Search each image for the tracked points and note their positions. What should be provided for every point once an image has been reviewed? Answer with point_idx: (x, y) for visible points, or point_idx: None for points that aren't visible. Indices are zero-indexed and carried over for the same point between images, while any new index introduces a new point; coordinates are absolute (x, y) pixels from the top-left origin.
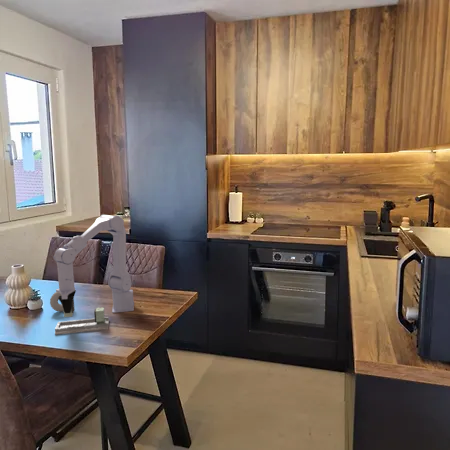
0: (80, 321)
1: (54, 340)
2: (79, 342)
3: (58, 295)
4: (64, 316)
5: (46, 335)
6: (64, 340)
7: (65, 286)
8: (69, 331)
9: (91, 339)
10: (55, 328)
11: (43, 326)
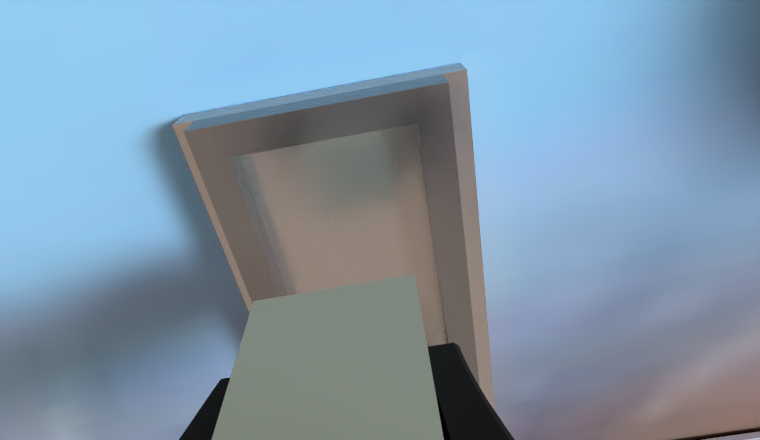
0: (444, 317)
1: (36, 163)
2: (56, 377)
3: None
4: (251, 316)
5: (152, 6)
6: (62, 258)
7: None
8: (232, 263)
9: (130, 431)
10: (206, 130)
11: None
